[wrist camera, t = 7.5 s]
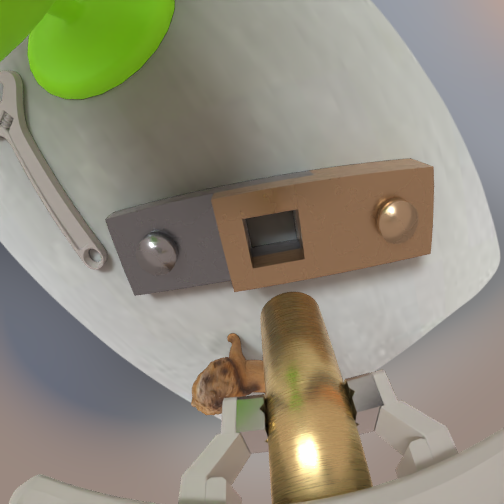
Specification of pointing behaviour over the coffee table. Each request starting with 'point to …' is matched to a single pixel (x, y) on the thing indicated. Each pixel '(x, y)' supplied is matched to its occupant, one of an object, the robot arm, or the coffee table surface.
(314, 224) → the door latch
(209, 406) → the lion figurine
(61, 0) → the wineglass
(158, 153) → the coffee table surface
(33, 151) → the adjustable wrench
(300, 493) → the brass pin
